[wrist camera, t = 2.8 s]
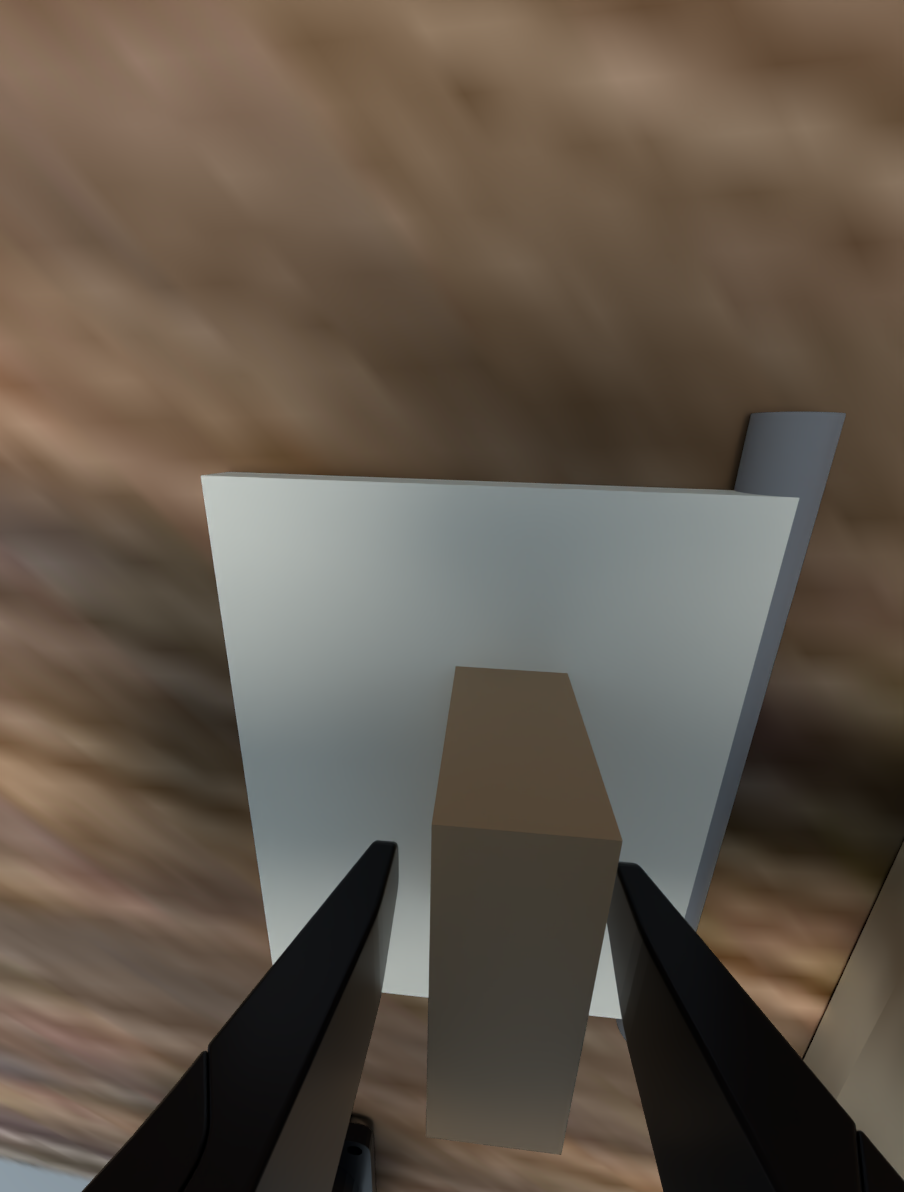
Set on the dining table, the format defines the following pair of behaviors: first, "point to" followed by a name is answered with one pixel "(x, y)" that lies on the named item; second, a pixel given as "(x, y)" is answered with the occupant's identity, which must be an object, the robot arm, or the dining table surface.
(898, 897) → the cabinet
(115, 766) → the dining table surface
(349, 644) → the cabinet door
